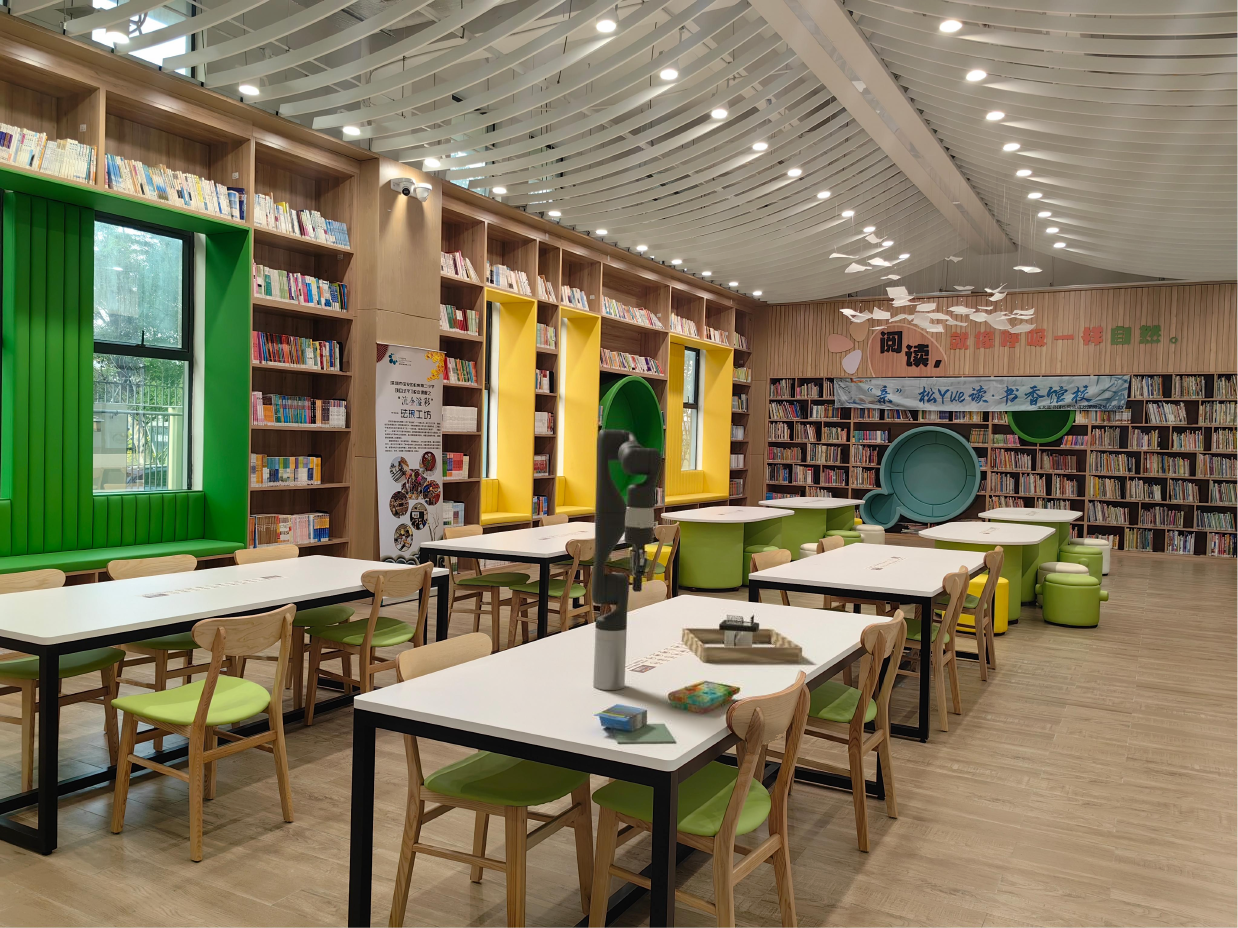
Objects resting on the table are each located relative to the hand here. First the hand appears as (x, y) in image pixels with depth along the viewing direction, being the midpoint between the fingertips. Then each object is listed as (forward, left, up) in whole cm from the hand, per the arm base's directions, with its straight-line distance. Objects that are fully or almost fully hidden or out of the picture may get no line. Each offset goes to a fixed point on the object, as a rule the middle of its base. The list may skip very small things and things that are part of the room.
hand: (636, 591), depth 234 cm
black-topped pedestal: (-78, +51, -34) cm, 99 cm away
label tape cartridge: (+5, -1, -31) cm, 31 cm away
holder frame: (-77, +51, -33) cm, 98 cm away
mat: (+14, 0, -33) cm, 36 cm away
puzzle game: (-12, +22, -33) cm, 42 cm away
